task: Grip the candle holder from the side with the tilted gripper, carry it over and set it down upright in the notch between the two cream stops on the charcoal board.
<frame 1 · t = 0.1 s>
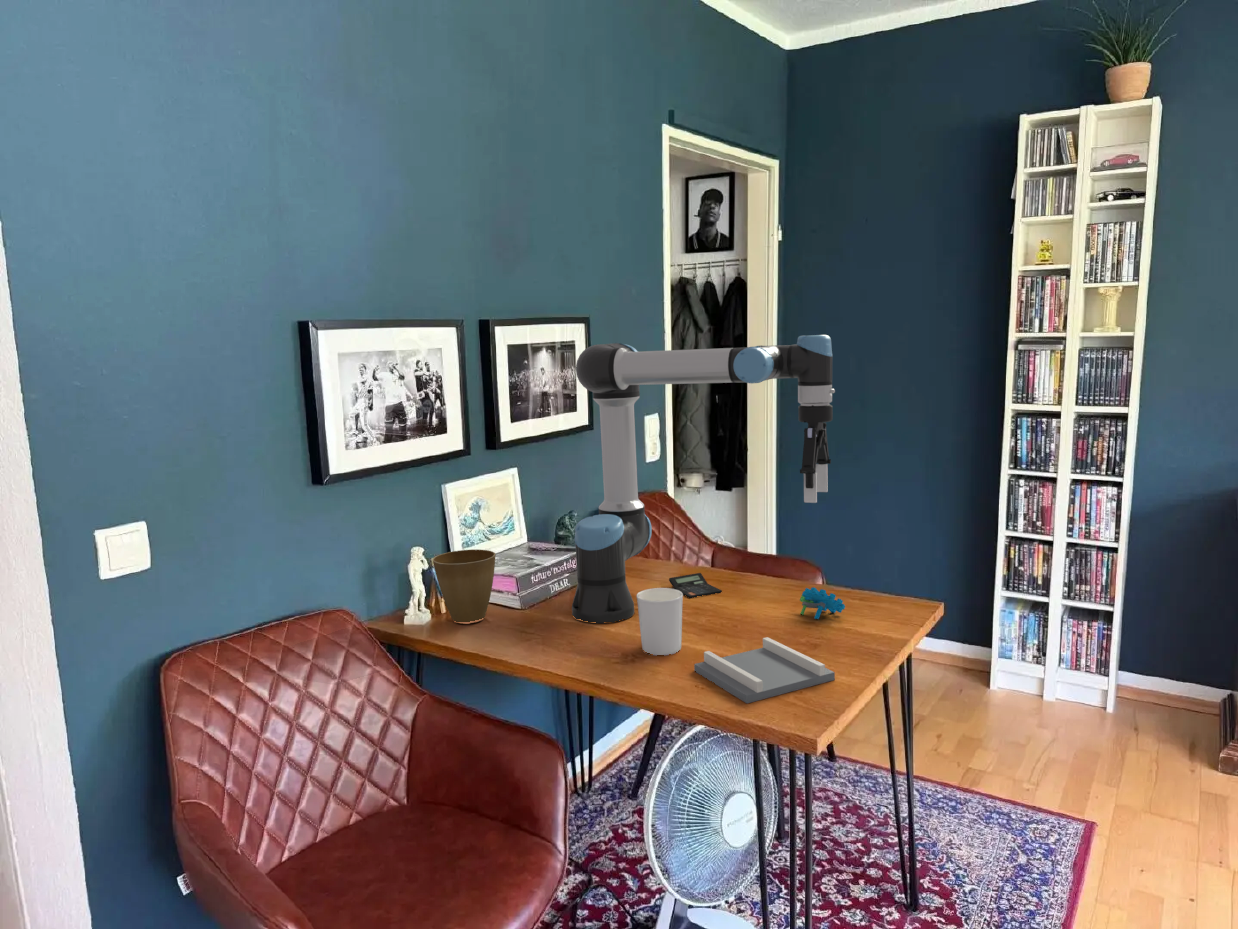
hand: (816, 497, 196), 28 cm above the table, tool pointing down, fingers open, 13 cm apart
plant pot: (468, 620, 209), on the table
notched board: (763, 675, 166), on the table
candle holder: (661, 649, 183), on the table
gear: (821, 616, 200), on the table
calculator: (695, 591, 225), on the table
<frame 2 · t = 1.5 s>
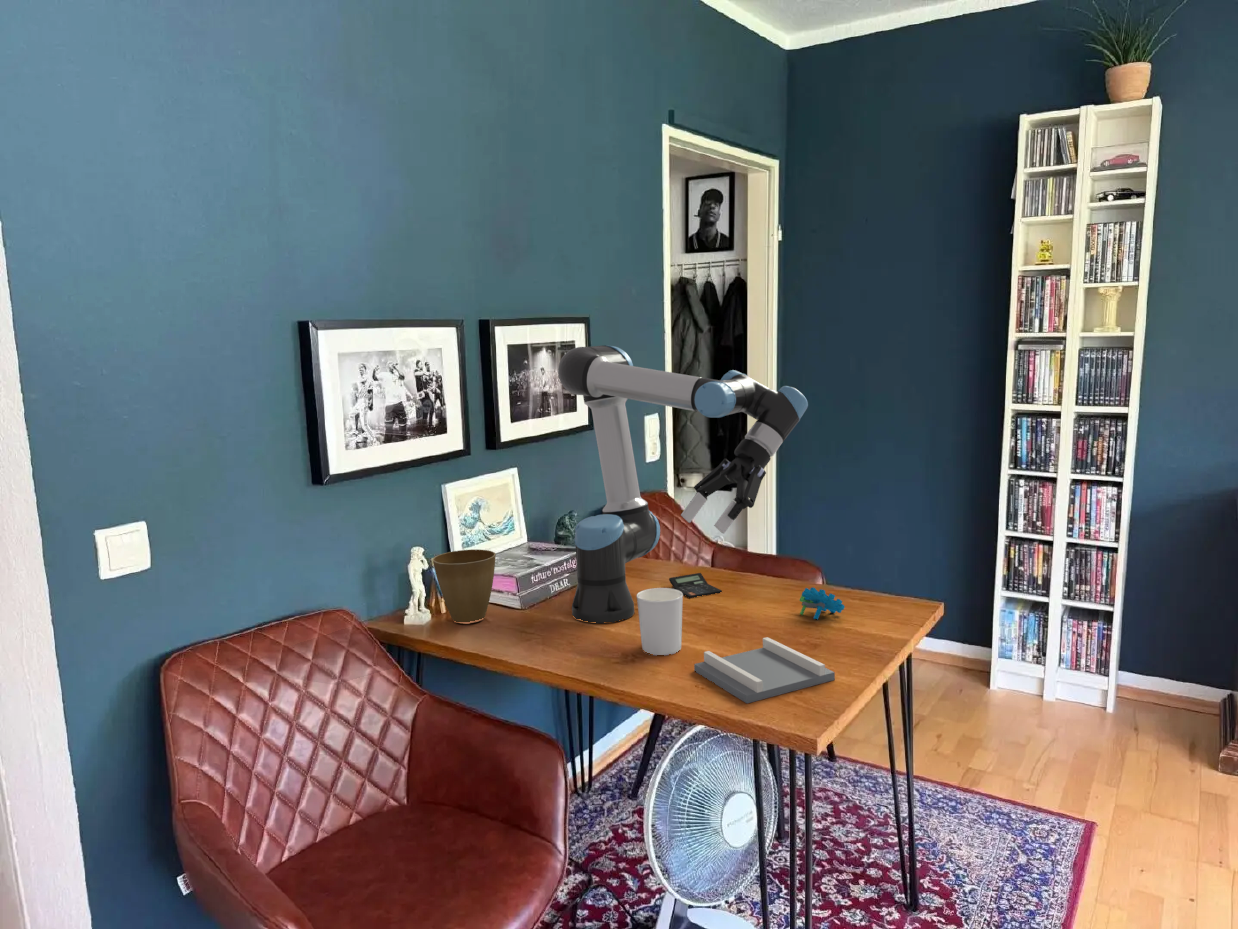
hand: (701, 524, 184), 26 cm above the table, tool tilted 45°, fingers open, 13 cm apart
nothing on the table moved.
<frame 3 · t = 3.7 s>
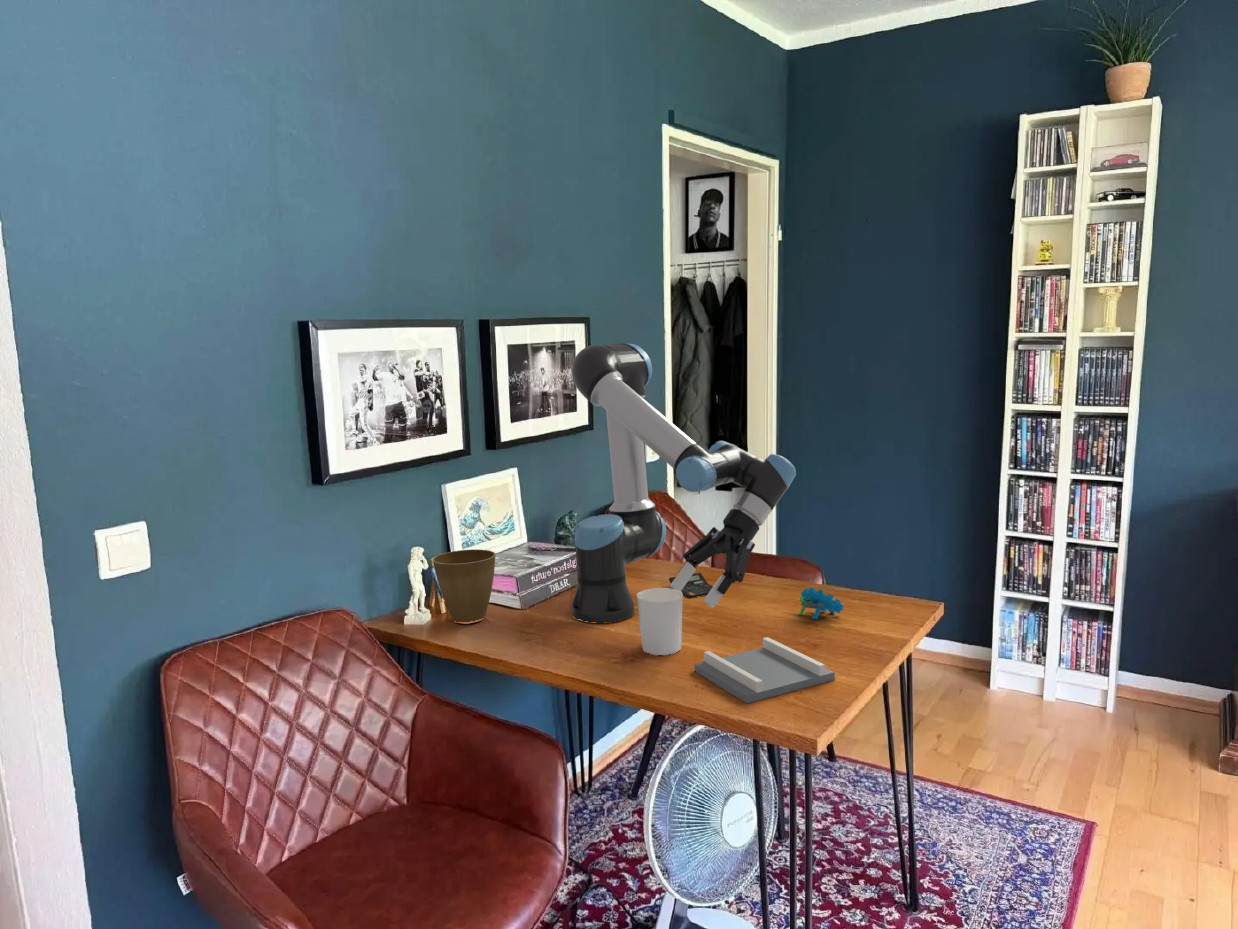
hand: (690, 596, 183), 11 cm above the table, tool tilted 45°, fingers open, 13 cm apart
nothing on the table moved.
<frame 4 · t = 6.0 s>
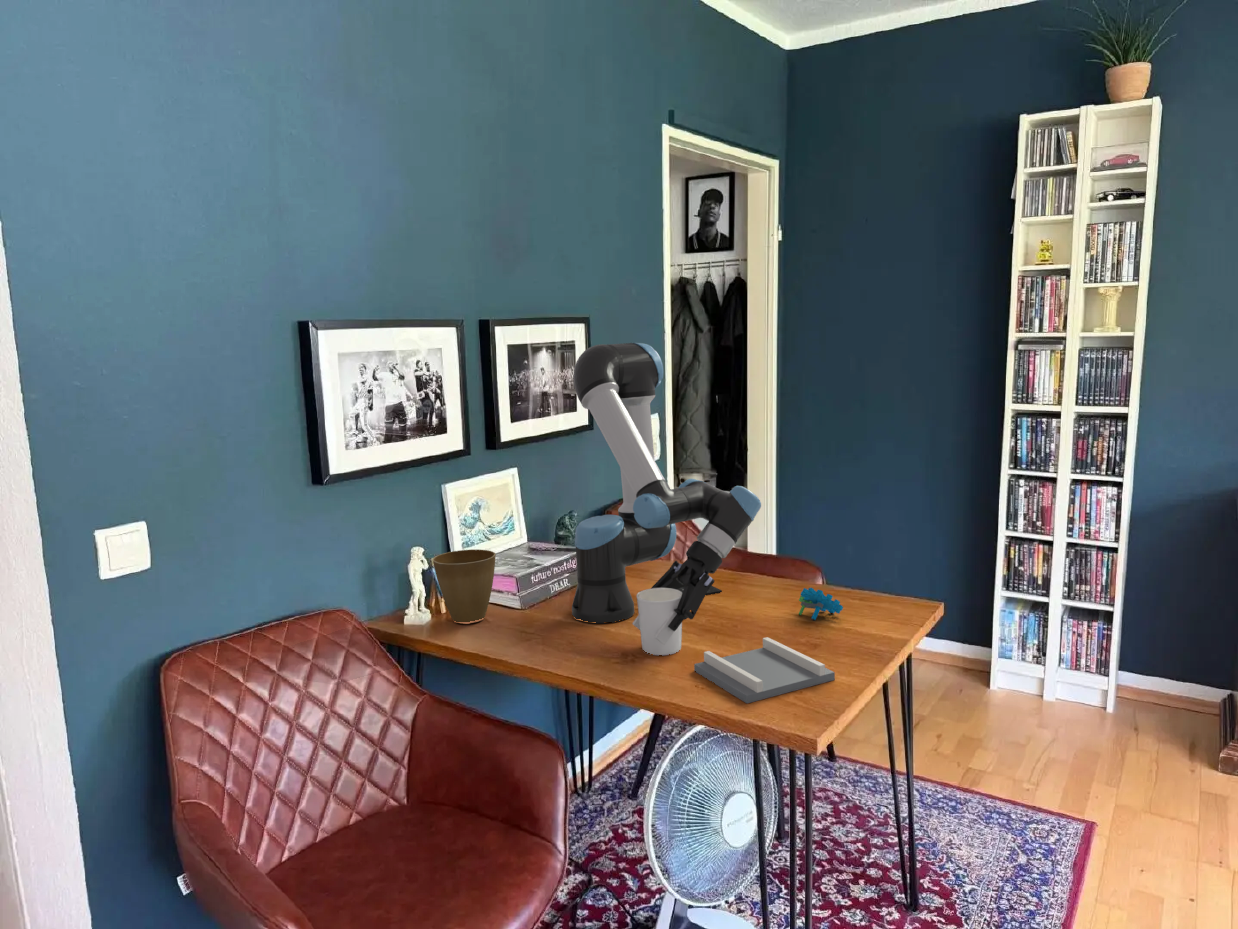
hand: (647, 634, 181), 4 cm above the table, tool tilted 45°, fingers closed on candle holder, 9 cm apart
candle holder: (661, 649, 183), on the table, touching gripper
everything else where it was.
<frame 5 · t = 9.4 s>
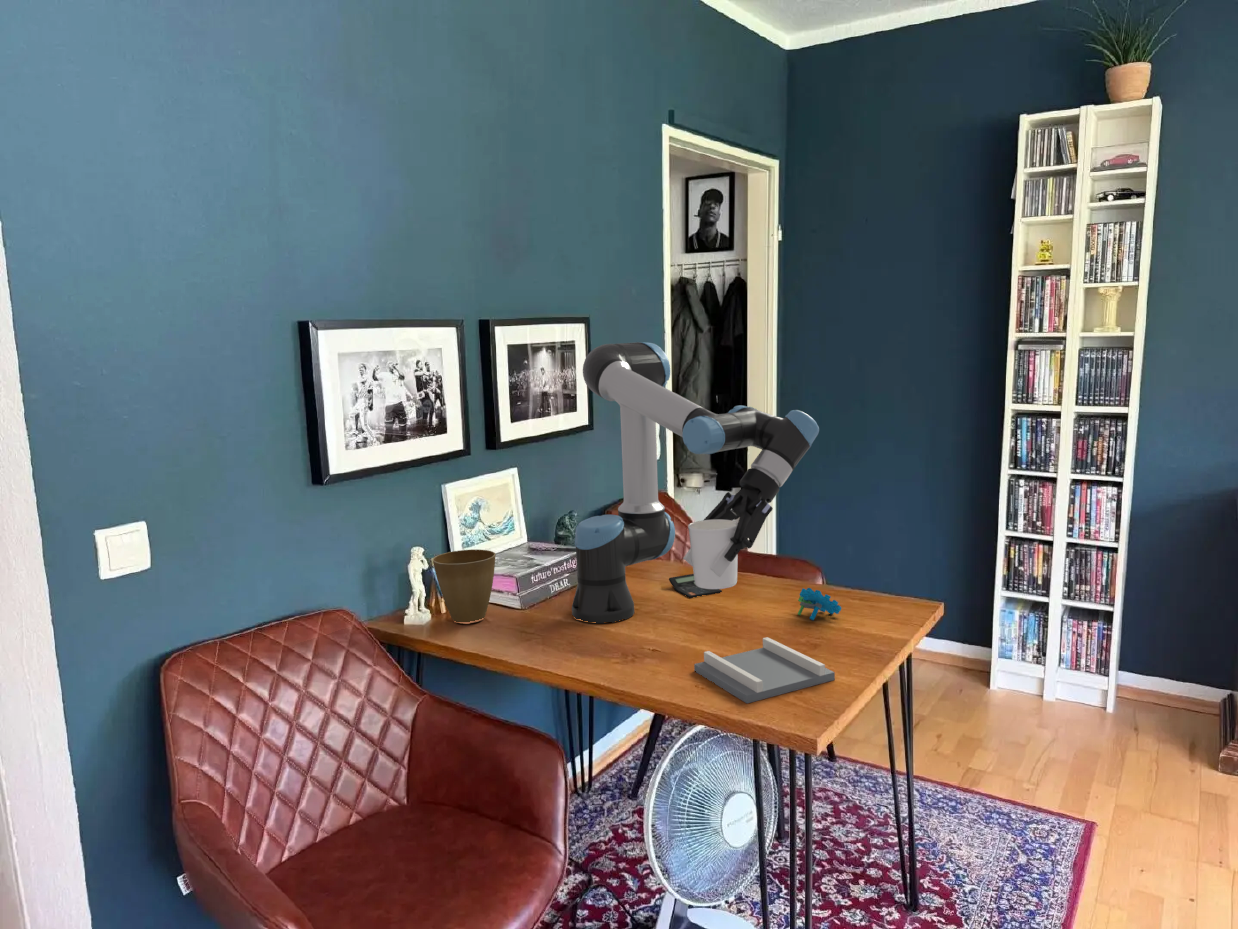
hand: (701, 567, 168), 21 cm above the table, tool tilted 45°, fingers closed on candle holder, 9 cm apart
candle holder: (716, 584, 170), point 17 cm above the table, touching gripper
everything else where it was.
when the fingers open (7 cm above the table, at t = 12.7 s): candle holder drops 1 cm, resting on notched board.
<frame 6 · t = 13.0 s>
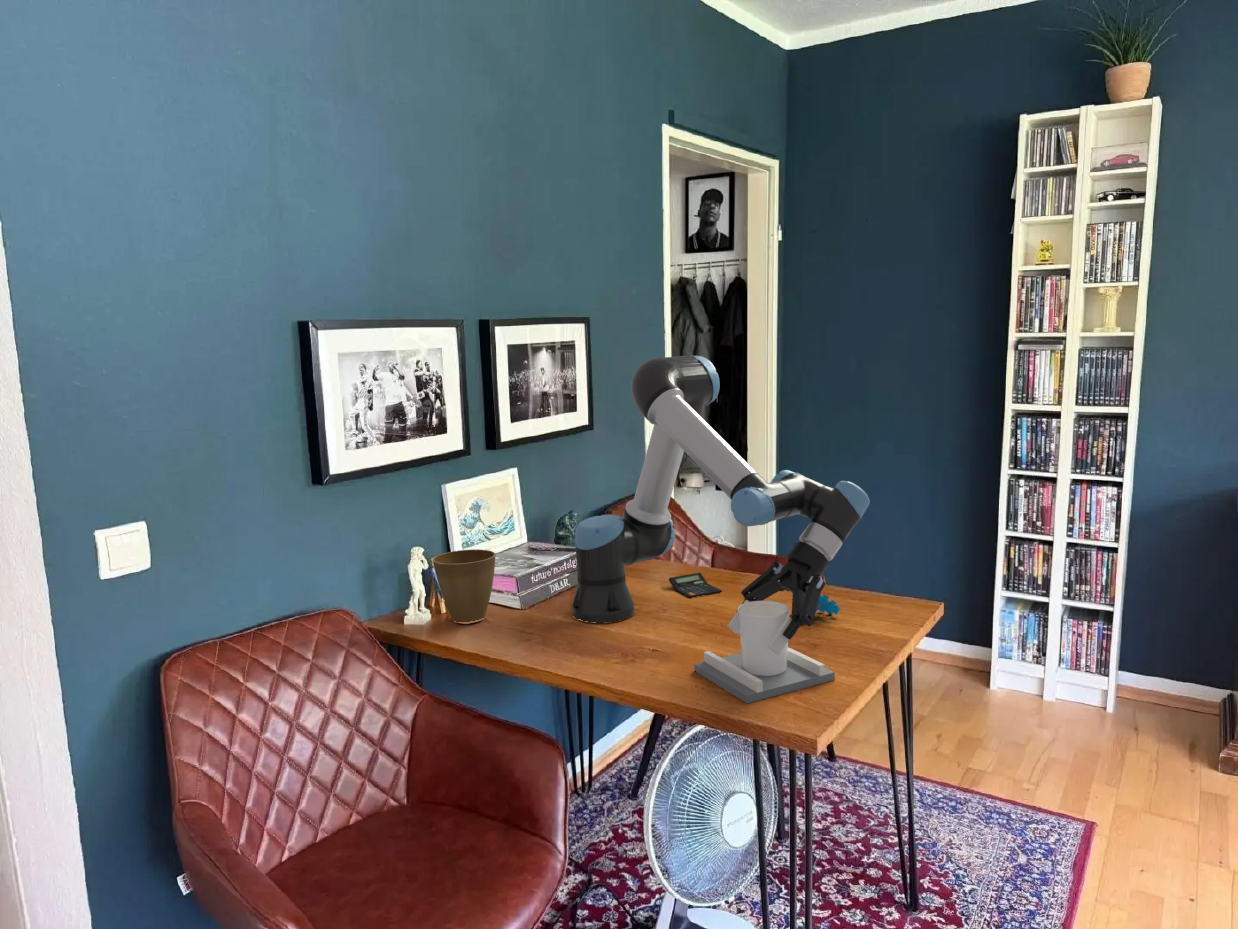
hand: (751, 640, 164), 8 cm above the table, tool tilted 45°, fingers open, 13 cm apart
candle holder: (764, 669, 166), point 1 cm above the table, touching notched board
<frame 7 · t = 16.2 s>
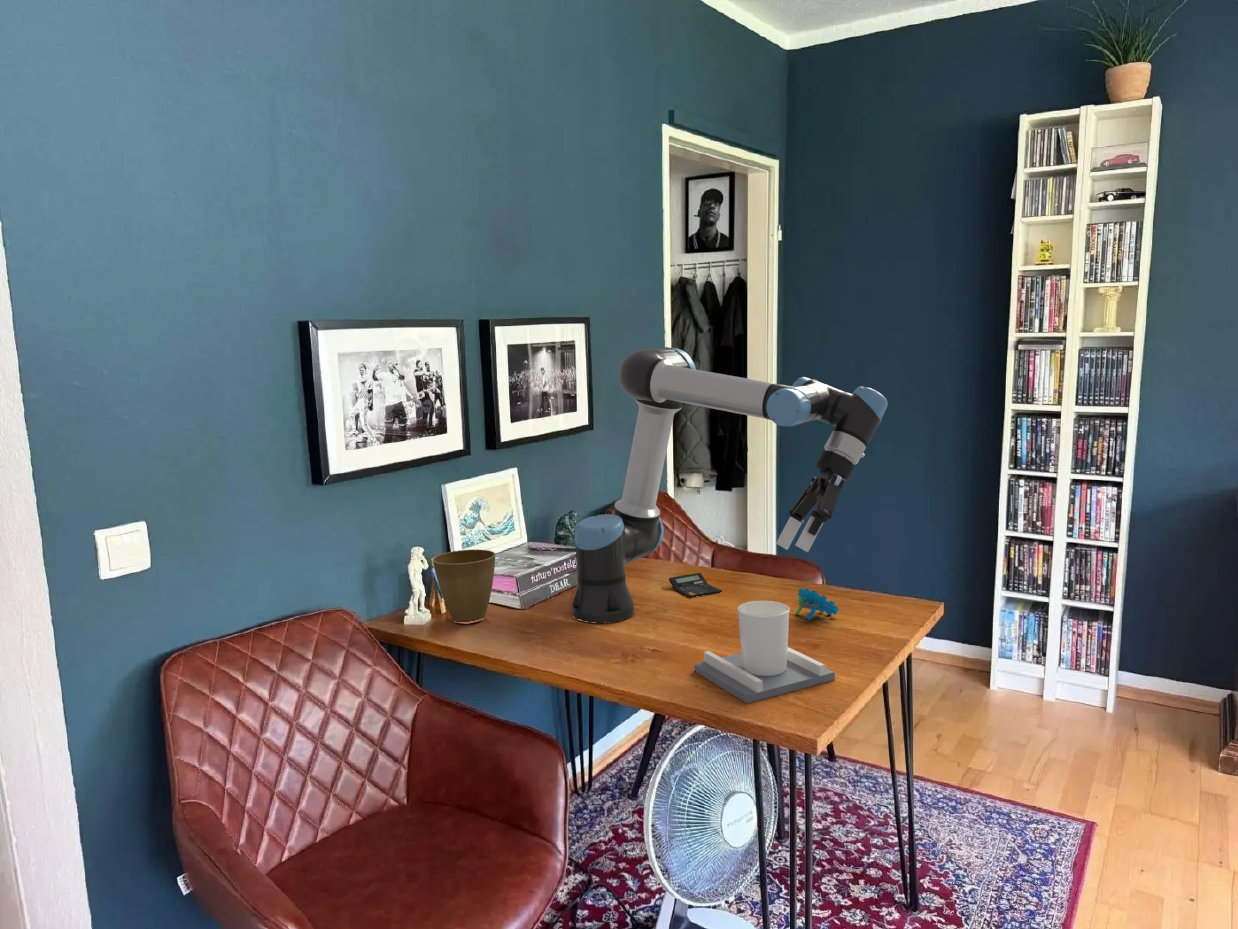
hand: (791, 547, 175), 22 cm above the table, tool tilted 35°, fingers open, 13 cm apart
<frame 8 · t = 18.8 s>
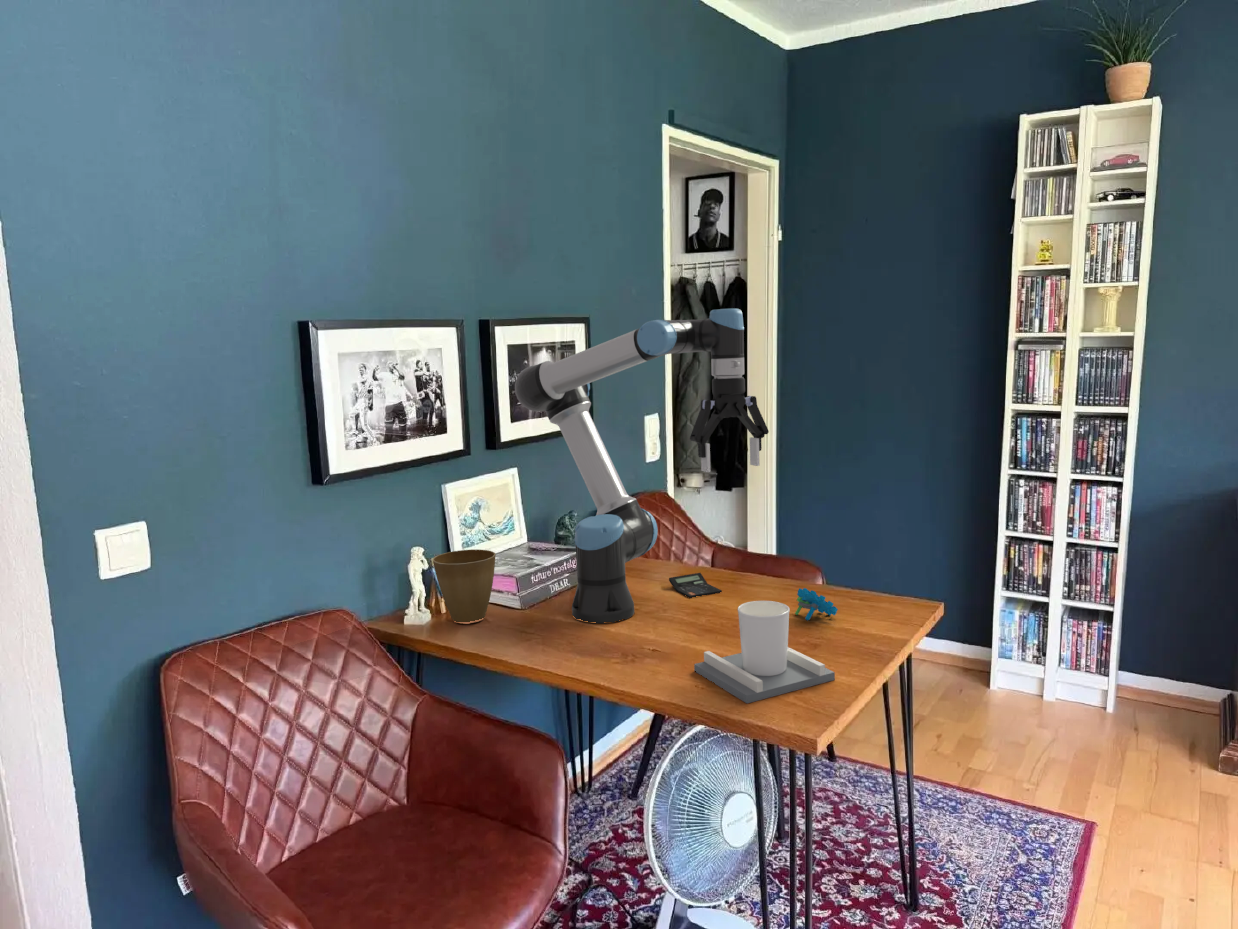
hand: (730, 468, 200), 35 cm above the table, tool pointing down, fingers open, 13 cm apart
at the end: candle holder inside the target area on the notched board (0.4 cm from its centre), point 1.3 cm above the notched board's base; candle holder tilted 0°; the gripper is holding nothing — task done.
